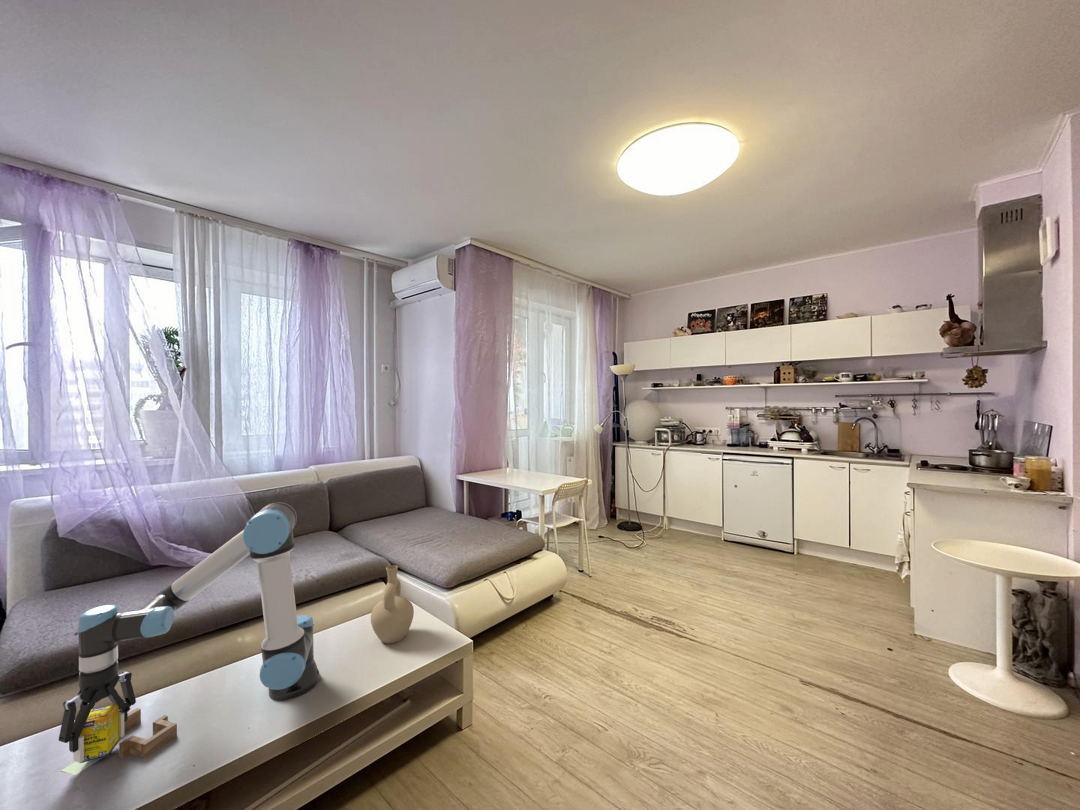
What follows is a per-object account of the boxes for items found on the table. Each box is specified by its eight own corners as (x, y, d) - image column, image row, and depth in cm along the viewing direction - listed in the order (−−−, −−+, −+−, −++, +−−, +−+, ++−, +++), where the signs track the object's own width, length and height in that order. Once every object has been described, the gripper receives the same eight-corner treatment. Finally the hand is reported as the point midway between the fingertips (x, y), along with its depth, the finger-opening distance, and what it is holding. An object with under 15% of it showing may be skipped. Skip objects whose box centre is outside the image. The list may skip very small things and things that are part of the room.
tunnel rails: (182, 733, 125) (182, 719, 125) (138, 763, 115) (138, 749, 115) (137, 720, 131) (137, 707, 130) (91, 749, 120) (91, 734, 120)
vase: (377, 630, 181) (376, 560, 181) (417, 628, 183) (416, 558, 183) (365, 653, 165) (364, 576, 165) (409, 650, 166) (408, 574, 166)
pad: (114, 760, 116) (114, 760, 116) (86, 779, 110) (86, 779, 110) (90, 753, 119) (90, 752, 119) (61, 770, 113) (61, 770, 113)
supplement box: (78, 764, 113) (78, 723, 113) (91, 747, 118) (91, 708, 118) (108, 757, 115) (107, 716, 115) (119, 741, 121) (119, 702, 121)
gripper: (134, 642, 128) (135, 717, 128) (36, 687, 108) (37, 776, 108) (152, 646, 126) (153, 722, 126) (55, 692, 106) (56, 783, 106)
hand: (99, 747), depth 117 cm, fingers closed on supplement box, 8 cm apart
